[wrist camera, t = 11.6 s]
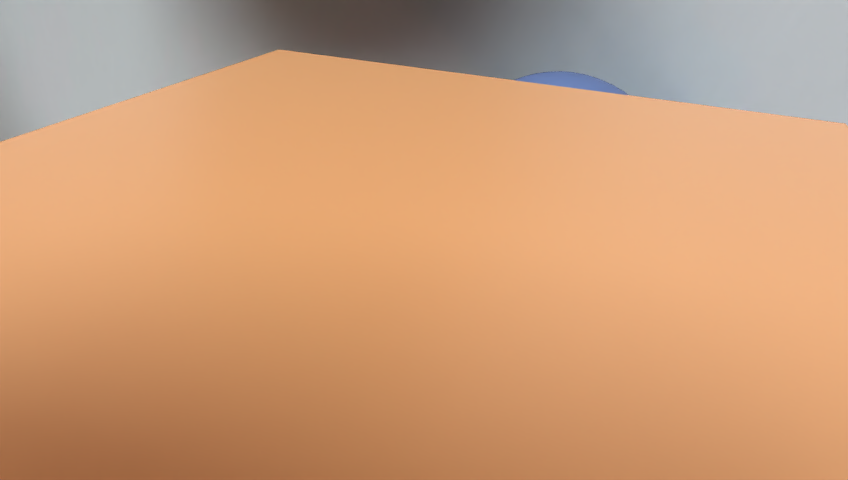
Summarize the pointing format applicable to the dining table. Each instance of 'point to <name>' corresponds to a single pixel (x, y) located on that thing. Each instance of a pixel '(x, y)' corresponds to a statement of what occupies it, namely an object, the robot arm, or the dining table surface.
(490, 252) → the tan wooden brick
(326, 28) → the dining table surface
